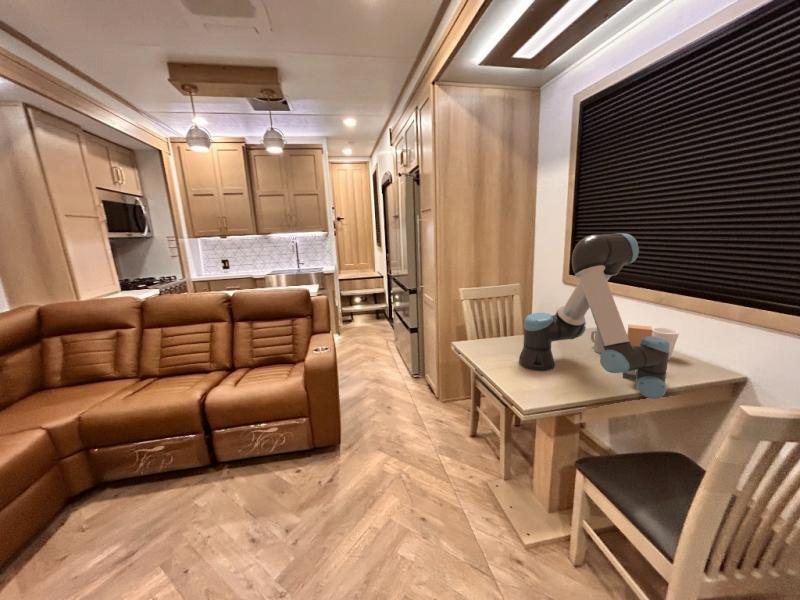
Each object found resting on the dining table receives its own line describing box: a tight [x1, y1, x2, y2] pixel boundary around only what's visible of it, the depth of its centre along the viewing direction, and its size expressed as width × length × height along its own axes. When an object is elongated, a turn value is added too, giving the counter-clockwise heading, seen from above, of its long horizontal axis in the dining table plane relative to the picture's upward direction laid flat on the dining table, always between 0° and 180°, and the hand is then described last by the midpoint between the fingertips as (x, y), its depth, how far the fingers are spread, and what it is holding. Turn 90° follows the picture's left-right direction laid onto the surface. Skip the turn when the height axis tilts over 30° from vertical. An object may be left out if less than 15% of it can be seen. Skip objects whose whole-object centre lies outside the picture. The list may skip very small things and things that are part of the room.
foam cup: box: [652, 327, 680, 361], centre depth 145 cm, size 10×9×13 cm
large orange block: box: [626, 324, 653, 346], centre depth 137 cm, size 6×8×16 cm
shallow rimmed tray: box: [622, 370, 636, 381], centre depth 137 cm, size 25×10×4 cm, turn 147°
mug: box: [590, 328, 605, 355], centre depth 157 cm, size 12×8×11 cm
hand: (642, 349), depth 135 cm, fingers closed
